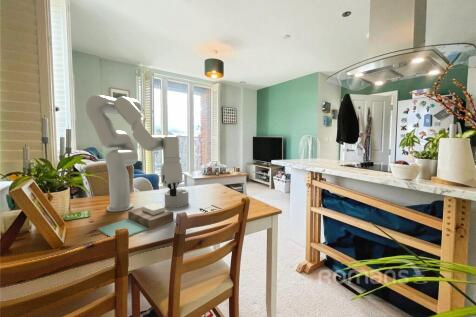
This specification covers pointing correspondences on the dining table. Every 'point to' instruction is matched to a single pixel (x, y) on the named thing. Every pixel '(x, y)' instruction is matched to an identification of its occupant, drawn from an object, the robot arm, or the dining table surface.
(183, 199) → the lumpy-topped squat cylinder
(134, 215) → the block
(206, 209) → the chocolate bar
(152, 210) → the tile
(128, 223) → the mat
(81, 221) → the dining table surface
